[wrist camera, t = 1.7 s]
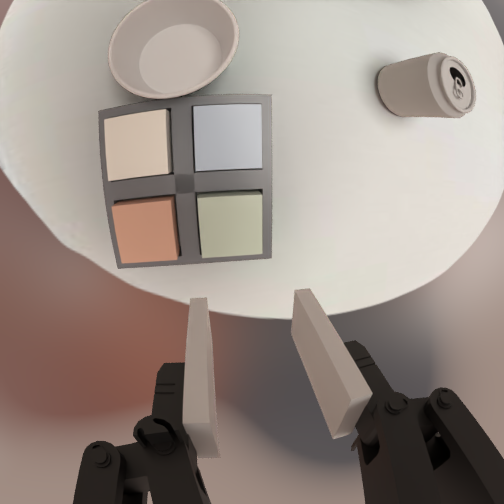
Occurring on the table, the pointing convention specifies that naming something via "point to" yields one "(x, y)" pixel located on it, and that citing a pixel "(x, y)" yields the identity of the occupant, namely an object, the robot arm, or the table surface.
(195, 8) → the food container
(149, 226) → the key
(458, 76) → the can
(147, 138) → the key
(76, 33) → the table surface
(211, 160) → the key
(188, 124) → the keypad
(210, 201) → the key
